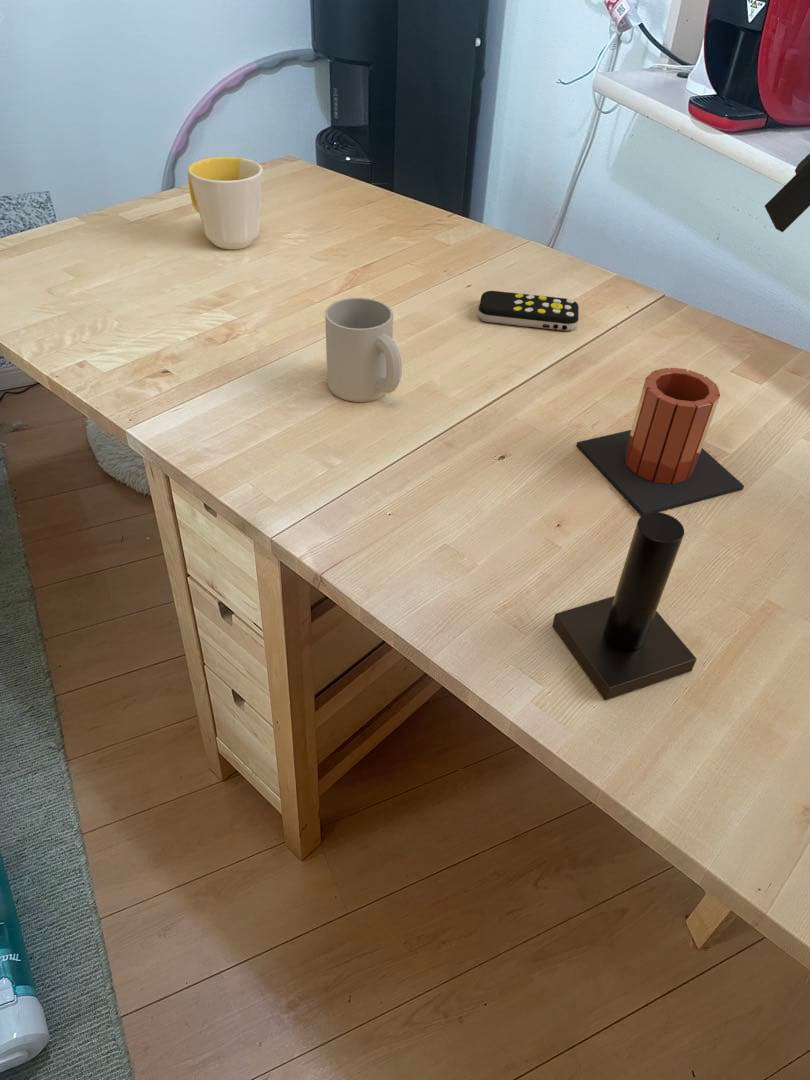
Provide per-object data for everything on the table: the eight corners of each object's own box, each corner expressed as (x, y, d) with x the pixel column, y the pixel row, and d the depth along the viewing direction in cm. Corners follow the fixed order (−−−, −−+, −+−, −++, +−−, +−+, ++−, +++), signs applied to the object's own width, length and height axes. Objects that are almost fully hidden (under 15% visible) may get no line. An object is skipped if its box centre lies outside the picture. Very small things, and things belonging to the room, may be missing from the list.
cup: (361, 362, 96) (362, 291, 90) (421, 398, 91) (425, 325, 84) (314, 383, 92) (311, 311, 86) (373, 422, 87) (374, 347, 81)
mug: (280, 247, 119) (275, 172, 112) (216, 262, 114) (206, 185, 107) (239, 216, 127) (231, 144, 120) (177, 228, 122) (165, 155, 115)
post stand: (692, 671, 63) (745, 550, 55) (605, 700, 61) (646, 579, 52) (633, 600, 69) (673, 480, 60) (551, 625, 66) (580, 504, 57)
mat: (743, 489, 80) (744, 485, 80) (641, 516, 77) (643, 512, 77) (670, 424, 89) (671, 420, 88) (576, 445, 85) (576, 442, 85)
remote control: (481, 301, 108) (482, 286, 107) (576, 311, 107) (579, 297, 106) (476, 322, 104) (478, 308, 103) (576, 333, 103) (579, 319, 101)
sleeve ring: (707, 475, 81) (735, 398, 75) (650, 490, 79) (674, 412, 73) (666, 437, 86) (689, 362, 80) (612, 450, 84) (631, 374, 78)
